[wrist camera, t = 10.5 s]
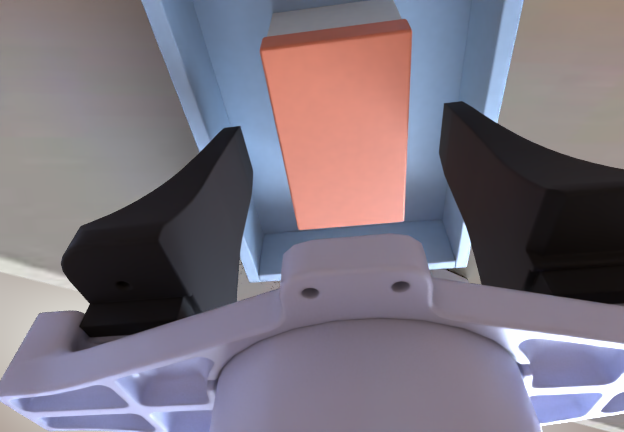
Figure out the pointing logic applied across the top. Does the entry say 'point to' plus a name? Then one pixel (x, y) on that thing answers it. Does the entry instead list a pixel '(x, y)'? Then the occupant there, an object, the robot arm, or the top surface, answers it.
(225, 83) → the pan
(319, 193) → the sushi
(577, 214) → the robot arm
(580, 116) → the top surface
